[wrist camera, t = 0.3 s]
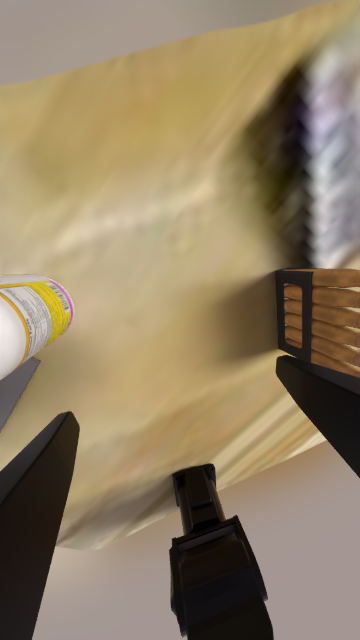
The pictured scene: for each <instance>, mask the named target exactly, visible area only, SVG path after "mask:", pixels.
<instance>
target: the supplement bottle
mask: <svg viewBox="0 0 360 640" xmlns="http://www.w3.org/2000/svg"><path fill="white" fill-rule="evenodd" d="M73 318H74V305H73V301H72V299H71V297H70V295H69V294H68V292H67V291H66V290H65V289H64V288H63V287H62V286H61V285H60V284H59V283H57V282H56V281H54V280H52V279H50V278H47V277H44V276H40V275H29V274H22V275H0V380H1V379H3V378H4V377H6V376H7V375H8V374H10V373H11V372H12V371H14V370H15V369H16V368H18V367H19V366H20V365H22V364H23V363H24V362H26V361H27V360H28V359H30V358H31V357H32V356H34V355H35V354H36V353H38V352H39V351H40V350H42V349H43V348H44V347H46V346H47V345H48V344H50V343H51V342H52V341H54V340H55V339H56V338H58V337H59V336H60V335H62V334H63V333H64V332H65V331H66V330H67V329H68V328H69V327H70V325H71V323H72V321H73Z"/></svg>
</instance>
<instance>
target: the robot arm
mask: <svg viewBox="0 0 360 640" xmlns="http://www.w3.org/2000/svg"><path fill="white" fill-rule="evenodd" d="M276 375H277V377H278V378H279V380H280V381H281V382H282V384H283V385H284V387H285V388H286V389H287V391H288V392H289V394H290V395H291V396H292V398H293V399H294V401H295V402H296V403H297V405H298V406H299V407H300V409H301V410H302V411H303V412H304V413H305V415H306V416H307V417H308V418H309V419H310V420H311V422H312V423H313V424H314V425H315V426H316V427H317V429H318V430H319V431H320V432H321V433H322V434H323V436H324V437H325V438H326V439H327V440H328V442H330V444H331V445H332V446H333V447H334V449H335V450H336V451H337V452H338V453H339V454H340V456H341V457H342V458H343V459H344V460H345V461H346V463H347V464H348V465H349V466H350V467H351V468H352V470H353V471H354V472H355V473H356V474H357V476H358V477H359V478H360V378H359V377H356V376H353V375H350V374H346V373H343V372H340V371H337V370H333V369H330V368H327V367H324V366H321V365H317V364H314V363H311V362H308V361H305V360H301V359H298V358H295V357H292V356H288V355H283V356H279V357H278V358H277V360H276ZM79 432H80V427H79V424H78V422H77V420H76V418H75V416H74V414H73V413H72V412H71V411H68V412H64V413H61V414H59V415H57V416H56V417H55V418H54V419H53V420H52V421H51V422H50V423H49V424H48V425H47V426H46V427H45V428H44V429H43V430H42V431H41V432H40V433H39V434H38V435H37V436H36V437H35V438H34V439H33V440H32V441H31V442H30V443H29V444H28V445H27V446H26V447H25V448H24V449H23V450H22V451H21V452H20V453H19V454H18V455H17V456H16V457H15V458H14V459H13V460H12V461H11V462H10V463H9V464H8V465H7V466H5V467H4V468H3V469H2V470H1V471H0V640H32V637H33V633H34V629H35V625H36V621H37V617H38V612H39V609H40V605H41V601H42V597H43V592H44V589H45V585H46V581H47V576H48V573H49V569H50V565H51V561H52V556H53V553H54V549H55V545H56V541H57V537H58V533H59V529H60V525H61V521H62V517H63V513H64V509H65V505H66V501H67V497H68V493H69V489H70V485H71V480H72V476H73V471H74V465H75V458H76V452H77V445H78V438H79ZM173 482H174V489H175V496H176V503H177V506H178V507H180V512H181V518H182V526H183V533H184V536H181V537H178V538H176V537H175V538H173V539H172V547H171V549H170V550H169V554H170V566H171V610H172V611H173V613H174V614H175V615H176V616H177V621H178V624H179V627H180V632H181V636H182V637H184V636H187V638H188V640H274V637H273V628H272V624H271V621H270V618H269V615H268V612H267V609H266V606H265V603H264V601H266V600H268V597H267V592H266V588H265V585H264V582H263V578H262V575H261V572H260V569H259V566H258V563H257V561H256V558H255V556H254V553H253V551H252V548H251V546H250V544H249V541H248V539H247V537H246V535H245V532H244V530H243V528H242V526H241V523H240V521H239V519H238V516H237V515H235V516H233V518H230V519H227V520H226V519H225V516H224V513H223V510H222V507H221V504H220V500H219V497H218V494H217V491H216V476H215V467H214V465H213V464H209V465H206V466H202V467H198V468H194V469H190V470H187V471H183V472H179V473H175V474H174V475H173Z"/></svg>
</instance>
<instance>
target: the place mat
mask: <svg viewBox="0 0 360 640" xmlns="http://www.w3.org/2000/svg"><path fill="white" fill-rule="evenodd" d="M40 362H41V361H40V360H37V359H35V358H32V357H31V358H30V359H28V360H27V361H26V362H24V363H23V364H22V365H20V366H19V367H18V368H16V369H15V370H14V371H12V372H11V373H10V374H8V375H7V376H6V377H4V378H3V379H1V380H0V432H1V430H2V429H3V427H4V425H5V423H6V422H7V420H8V418H9V416H10V415H11V413H12V411H13V409H14V408H15V406H16V404H17V402H18V400H19V399H20V397H21V395H22V393H23V392H24V390H25V388H26V386H27V385H28V383H29V381H30V379H31V378H32V376H33V374H34V372H35V370H36V369H37V367H38V365H39V363H40Z"/></svg>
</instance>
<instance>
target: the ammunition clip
mask: <svg viewBox="0 0 360 640" xmlns="http://www.w3.org/2000/svg"><path fill="white" fill-rule="evenodd" d="M329 287H337V288H329ZM349 287H360V270H355V269H318V268H285V269H280V270H277V271H276V294H277V320H278V346H279V349H281V350H283V351H285V352H287V353H288V354H290V355H292V356H294V357H296V358H298V359H301V360H305V361H308V362H311V363H314V364H317V365H321V366H324V367H327V368H330V369H333V370H337V371H340V372H343V373H346V374H350V375H353V376H356V377H359V378H360V370H358V369H356V368H354V367H352V366H351V365H350V364H353V365H355V366H358V367H360V352H359V351H357V350H354V349H352V348H351V347H349V346H347V345H351V346H354V347H358V348H360V332H356V331H354V330H352V329H350V328H348V327H345V326H349V327H354V328H359V329H360V313H359V312H355V311H352V310H350V309H347V308H342V307H353V308H360V292H357V291H353V290H350V289H341V288H349ZM345 344H347V345H345ZM348 363H350V364H348Z"/></svg>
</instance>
